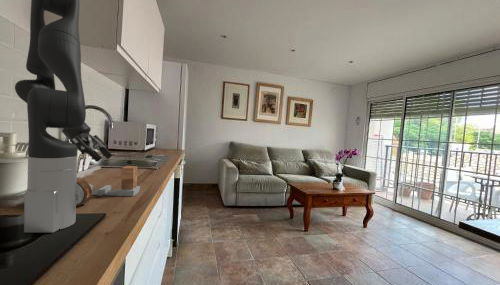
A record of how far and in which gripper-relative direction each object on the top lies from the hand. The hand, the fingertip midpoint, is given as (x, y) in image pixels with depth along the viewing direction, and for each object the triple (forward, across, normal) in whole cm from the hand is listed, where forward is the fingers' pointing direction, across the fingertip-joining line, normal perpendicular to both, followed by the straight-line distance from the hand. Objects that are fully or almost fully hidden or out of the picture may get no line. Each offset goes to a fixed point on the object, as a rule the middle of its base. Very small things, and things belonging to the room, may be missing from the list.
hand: (105, 158), depth 86 cm
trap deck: (+9, 0, +9) cm, 13 cm away
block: (+14, 0, +2) cm, 14 cm away
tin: (+6, -14, +13) cm, 19 cm away
